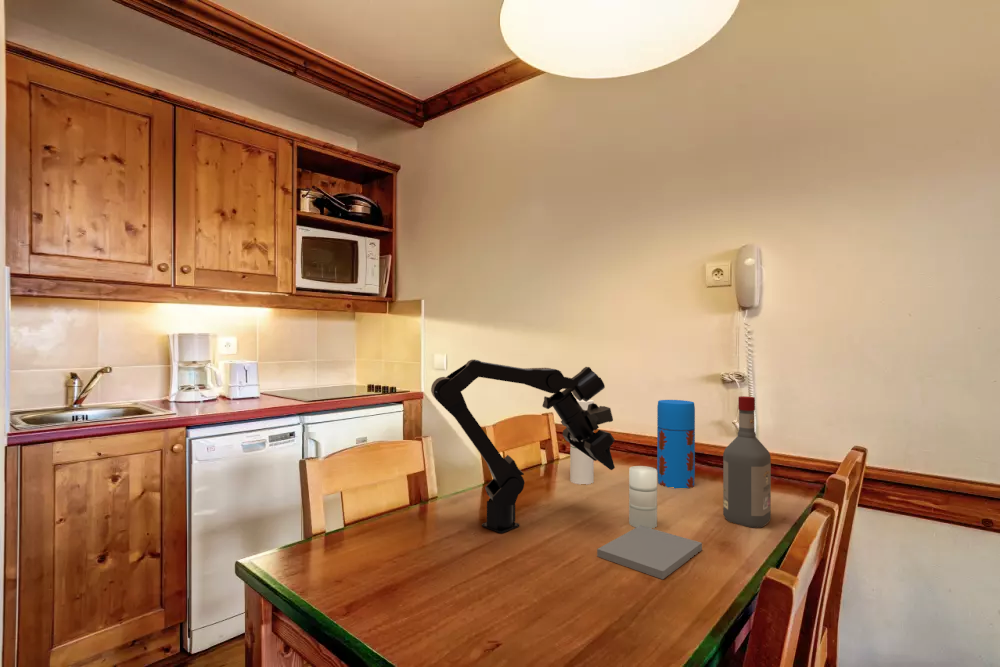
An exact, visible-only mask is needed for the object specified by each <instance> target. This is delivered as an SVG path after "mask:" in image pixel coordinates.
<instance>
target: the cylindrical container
mask: <svg viewBox="0 0 1000 667" xmlns="http://www.w3.org/2000/svg"><path fill="white" fill-rule="evenodd" d="M576 400H577V401H578V403H579V404H580V406H581V407H582V409H583V410H587V409H588V405H589V404H592V403H594V404H595V400H593V399H590V400H588V401H587V402H586V401H584V400H583V399H582V400H581V401H579V400H578V399H577V398H576ZM593 432H594V433H595V430H594V431H593ZM569 445H570V446H569V448H570V450H569V451H570V452H569V456H570V457H569V458H570V461H569V462H570V464H569V466H570V467H569V470H570V472H569V473H570V474H569V475H570V476H569V477H570V478H569V481H570V482H571V483H572V484H574V485H575V484H576V485H581V484H586V485H591V483H592V484H593V483H594V476H595V475H594V474H595V473H594V469H595V467H594V465H595V464H594V463H595V461H594V460H593V459H591V458H590V457H589V456H587V455H586V454H584V453H583V452H581V451H580V450H578V449H577V448H576V447H574V446H573V445H571V444H570V443H569Z"/></svg>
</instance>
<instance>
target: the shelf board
mask: <svg viewBox="0 0 1000 667" xmlns="http://www.w3.org/2000/svg"><path fill="white" fill-rule="evenodd" d="M596 551H597V552H596V555H597V556H596V557H597V558H601V559H604V560H606V561H609V562H612V563H615V564H618V565H620V566H623V567H627V568H629V569H632V570H635V571H637V572H640V573H643V574H647V575H649V576H652V577H655V578H657V579H660V580H664V579H665V578H667V577H668V576H669V575H671V574H672V573H673V572H675V571H677V570H678V569H679V568H680V567H682V566H683V565H685V563H687V562H688V561H689V560H691V559H692V558H694V557H695V556H696V555H698V554H699V553H700V552H701V551H703V542H700V541H697V540H694V539H690V538H687V537H683V536H680V535H676V534H672V533H668V532H665V531H662V530H658V529H656V528H653V529H651V528H648V527H644V526H641V525H640V526H638V527H637V528H636V527H634V528H633V529H631V530H629V531H627V532H626V533H624V534H622V535H620V536H618V537H617V538H615V539H613V540H611V541H609V542H607V543H605V544H604V545H602V546H601V547H599V548H597V549H596ZM698 552H699V553H698ZM694 555H695V556H694ZM690 558H691V559H690Z"/></svg>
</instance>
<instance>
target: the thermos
mask: <svg viewBox="0 0 1000 667" xmlns="http://www.w3.org/2000/svg"><path fill="white" fill-rule="evenodd" d="M656 409H657V410H656V412H657V416H656V418H657V419H656V420H657V422H656V423H657V429H656V430H657V435H656V436H657V437H656V439H657V440H656V442H657V444H656V447H657V450H656V451H657V452H656V453H657V455H656V456H657V457H656V460H657V463H656V465H657V466H656V467H657V468H656V469H657V484H659V485H660V486H662V485H663V487H665V486H667V487H666V488H669V487H674V488H673V489H676V488H688V489H690V488H689V487H692V488H693V487H695V477H696V476H695V475H696V471H695V470H696V466H695V465H696V459H695V458H696V457H695V455H696V430H695V429H696V408H695V402H694V401H692V400H691V401H690V400H684V399H683V400H681V399H679V400H678V399H660V400H658V401H657V408H656Z"/></svg>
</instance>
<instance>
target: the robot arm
mask: <svg viewBox="0 0 1000 667" xmlns="http://www.w3.org/2000/svg"><path fill="white" fill-rule="evenodd" d="M478 378H483V379H491V380H494V381H495V380H497V381H500V382H501V381H502V382H508V383H515V384H522V385H526V386H528V387H532V388H534V389H538V390H540V391H543V392H546V393H549V394H552V395H551V396H549V397H548V396H544V397H543V399H544V400H543V403H542V406H541V407H542V408H544V409H547V410H549V409H551V408H553V409H554V411H555V412H556V414H557V416H558V417H559V418H560V420H561V421H560V424H561V425H562V426H564V427H565V428H564V429H563V430H562V437H563V438H564V440H565V441H566V442H568V443H569V445H570V444H571V445H573V446H574V447H576V448H577V449H578V450H580V451H581V452H583V453H584V454H586V455H587V456H589V457H590V458H591V459H593V460H594V462H596V461H598V463H601V464H602V465H603V466H605V467H606V468H607V469H609V470H610V471H613V470H614V469H615V468H616V467H615V463H614V460H613V457H612V452H611V446H613V444H614V442H615V440H616V439H615V438H614V436H613V434H612V433H611V432H608V431H606V430H601V429H599V428H600V427H599V425H602V424H605V423H611V422H613V421H614V418H613V414H612V409H611V407H609V406H604V405H603V406H602V405H598V404H597V403H595V402H594V403H592V404H589V405H588V409H587V410H583V409H582V407H581V406H580V404H579V403H578V401H577V400H576V399H578V400H579V401H581V400H582V399H583V400H584V401H586V402H587V401H588V400H592V398H594V397H595V396H596V395H597V394H599V393H600V392H602V390H604V389H605V383H604V381H603V379H602V378H601V377H600V376H599V375H598V374H596V372H594V371H593V369H592V368H591V367H589V366H585V367H583V368H582V369H581V371H579V372H577V374H575V375H573V377H572V378H571V377H568V376H564V374H563V373H562V371H560V370H559V369H555V368H551V367H530V368H529V367H527V368H522V367H517V366H509V365H506V364H505V365H504V364H498V363H492V362H484V361H481V360H480V359H470V360H468V361H467V362H466V363H465V364H464V365H462V366H460V367H459V368H457V369H456V370H454V371H453V372H451V373H450V374H448V375H446V376H440V377H438V378H436V379H435V380H434V381H433V382H432V384H431V388H430V393H431V395H432V396H433V398H434V399H435V400H436V401H437V403H439V404H440V405H441V407H443V408H444V409H445V410H446V411H447V412H448V413H449V414H450V415H451V416H452V417H453V418H454V419H455V420H456V421H457V423H458V424H459V425H460V427H461V428H462V430H463V431H464V433H465V434H466V436H467V437H468V438H469V439H470V440H469V441H471V443H472V444H473V445H474V447H475V448H476V450H477V451H478V453H479V454H480V455H481V457H482V458H483V460H484V461H485V462H486V464H487V467H488V469H489V471H490V474H491V477H492V479H491V480H490V481H489V483H488V484H486V486H485V488H484V489H485V491H486V495H487V496H488V497H489V499H488V500H487V501H486V522H484V523H481V526H482V527H483V528H486V529H488V530H491V531H493V532H495V533H499V534H504V533H505V532H508V531H511V530H513V529H515V528H519V527H520V523H519V522H516V503H517V499H518V497H519V495H520V494H521V493H522V491H523V490H524V488H525V480H524V477H523V476H524V475H525V473H524V472H523V471H522V470H521V469H520V468H519V467H518V464H517V463H516V461H515V460H514V459H513V458H512V457H511V456H510V455H509V454H506V456H505V457H503V456H502V455H501V454H500V452H499V450H498V449H497V447H496V446H495V445H494V444H493V442H492V440H491V439H490V438H489V436H488V435H487V434H486V433H485V431H484V429H483V428H482V427H481V425H480V424H479V422H478V420H476V417H474V415H473V413H472V412H471V410H469V408H468V406H467V403H466V400H465V398H464V395H463V393H462V391H464V390H466V388H468V387H469V386H470V384H472V383H473V382H474V381H475V380H477V379H478ZM597 430H598V431H597ZM593 431H594V432H593ZM595 431H596V432H595Z"/></svg>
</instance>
